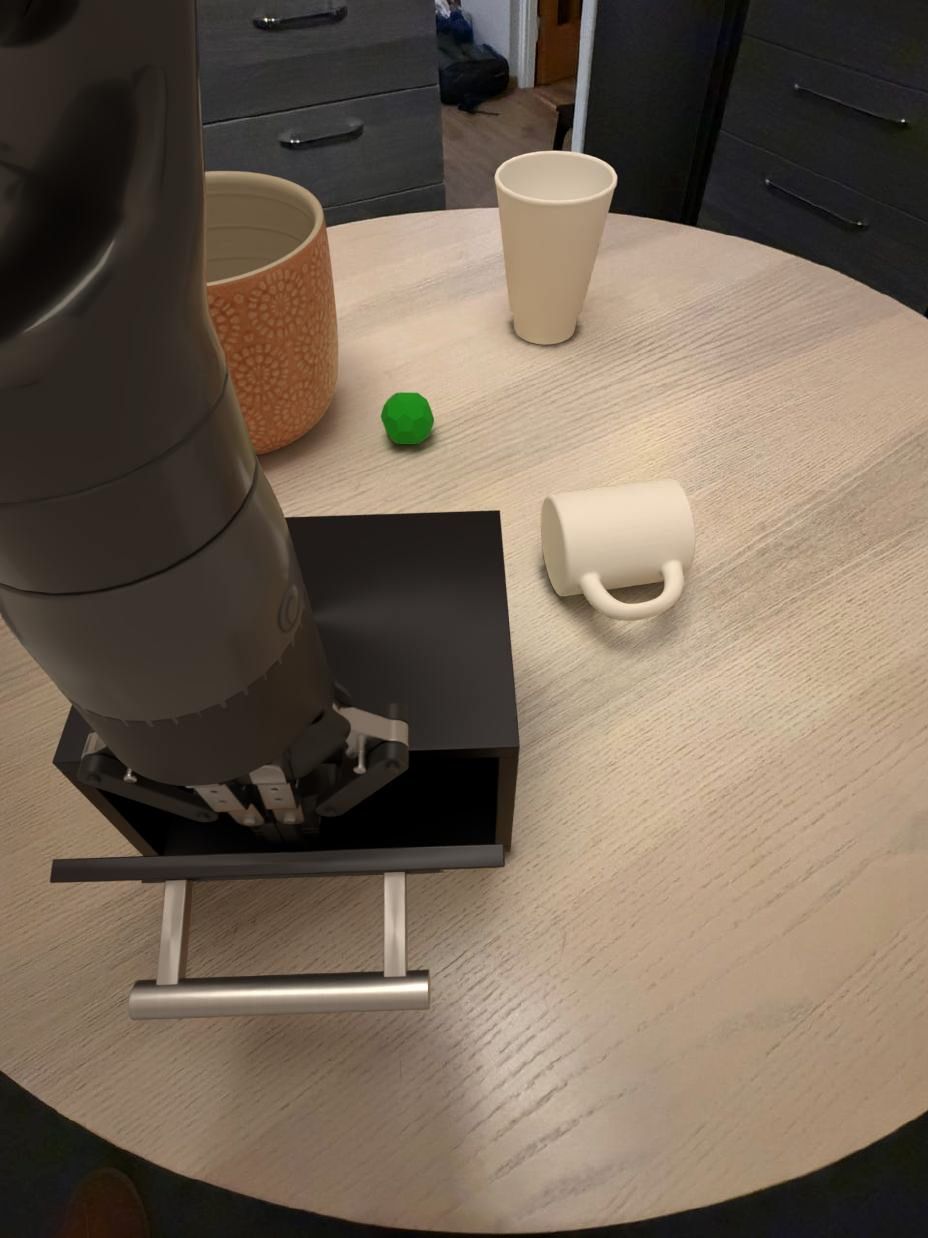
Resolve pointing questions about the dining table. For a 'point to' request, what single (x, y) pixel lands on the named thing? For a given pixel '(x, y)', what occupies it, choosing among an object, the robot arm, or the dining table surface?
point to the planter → (272, 301)
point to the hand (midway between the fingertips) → (294, 832)
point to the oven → (387, 685)
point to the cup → (551, 237)
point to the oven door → (286, 991)
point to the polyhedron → (407, 418)
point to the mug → (619, 543)
